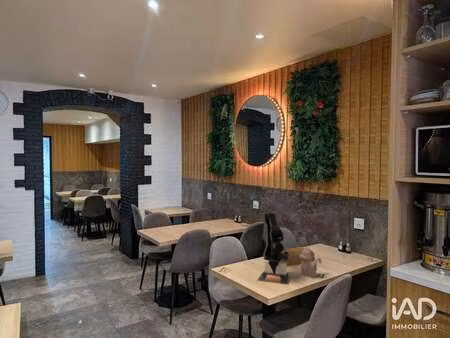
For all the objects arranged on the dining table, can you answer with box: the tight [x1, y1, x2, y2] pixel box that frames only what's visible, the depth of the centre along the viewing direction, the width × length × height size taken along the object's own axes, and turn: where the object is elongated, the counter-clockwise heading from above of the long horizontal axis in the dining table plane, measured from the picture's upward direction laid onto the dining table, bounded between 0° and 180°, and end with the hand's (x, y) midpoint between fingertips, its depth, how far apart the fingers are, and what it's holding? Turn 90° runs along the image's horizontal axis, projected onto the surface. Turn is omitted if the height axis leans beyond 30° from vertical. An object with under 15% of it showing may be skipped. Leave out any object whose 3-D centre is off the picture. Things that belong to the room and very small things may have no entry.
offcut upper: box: [266, 275, 280, 281], centre depth 200 cm, size 5×9×1 cm, turn 79°
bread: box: [279, 246, 315, 267], centre depth 243 cm, size 36×11×10 cm, turn 121°
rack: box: [256, 269, 292, 286], centre depth 205 cm, size 16×20×4 cm
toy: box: [299, 246, 323, 279], centre depth 213 cm, size 9×18×20 cm, turn 117°
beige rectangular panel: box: [264, 260, 288, 275], centre depth 208 cm, size 2×14×10 cm, turn 71°
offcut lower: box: [264, 276, 282, 285], centre depth 200 cm, size 6×10×1 cm, turn 71°
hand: (275, 271), depth 208 cm, fingers open, 9 cm apart
